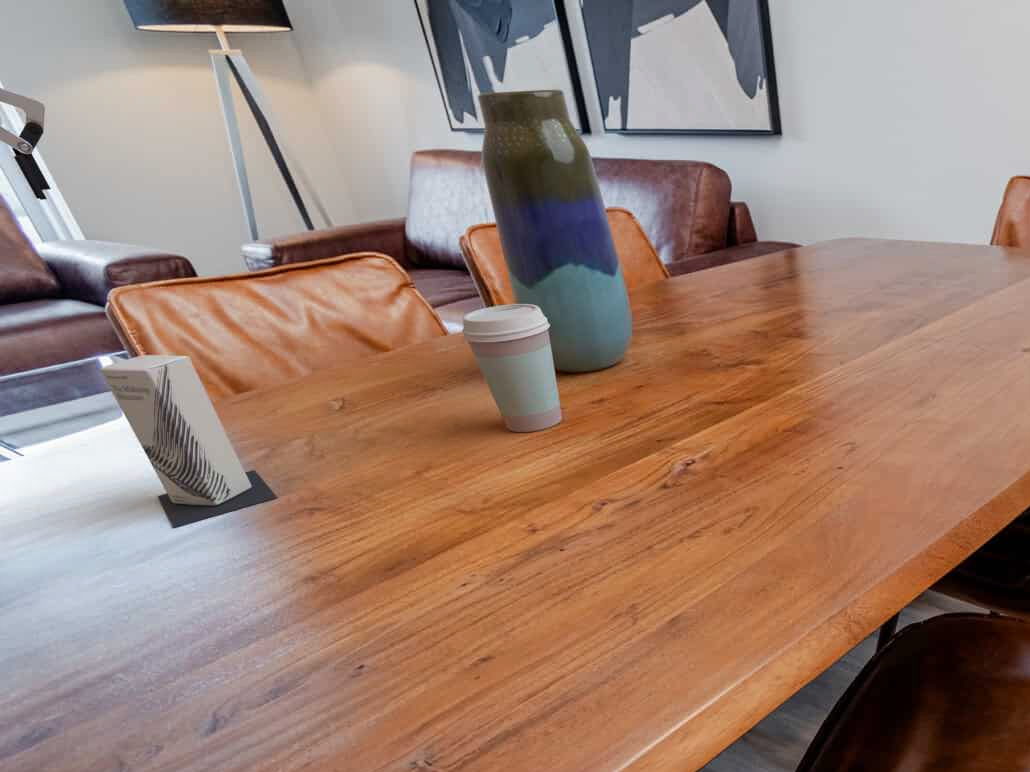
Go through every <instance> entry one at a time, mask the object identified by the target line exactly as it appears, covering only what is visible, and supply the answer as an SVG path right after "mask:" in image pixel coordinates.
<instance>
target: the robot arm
mask: <svg viewBox="0 0 1030 772" xmlns="http://www.w3.org/2000/svg"><path fill="white" fill-rule="evenodd" d="M0 103H5V104H7V105H10V106H12V107H15V108H19V109H21V110H22V111H23V112H24V113H25V125H24V127H23V129H22V130H21V132H20V134H19V135H17V134H15V133H14V132H12V131H10V130H9V129H7V128H6V127H4V126H3V122H2V118H1V117H0V141H1V142H3V143H4V144H6V145H8V146H9V147H11V149H12V151H13V153H14V155H13V158H14V161H15V162H16V164H17V165H18V167H19V169H20V171H21V173H22V174H23V176H24V179H25V181H26V182H27V184H28V186H29V187H30V190H31V191H32V193H33V195H34V197H35V198H36V199H37V200H41V201H42V200H48V199H47V196H46V194H45V193H44V191H48V190H51V187H50V184H49V183H48V181H47V179H46V177H45V175H44V173H43V172H42V170H41V167H40V166H39V165H38V162H37V161H36V159H35V157H34V155H33V152H34V150H35V148H36V147H37V145H38V144H39V141H40V139H41V138H42V136H43V134H44V130H45V129H44V127H45V112H46V108H45V104H44V103H43V102H41V100H38V99H35V98H33V97H29V96H26V95H23V94H20V93H17V92H14V91H12V90H8V89H6V88H2V87H0Z"/></svg>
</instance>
